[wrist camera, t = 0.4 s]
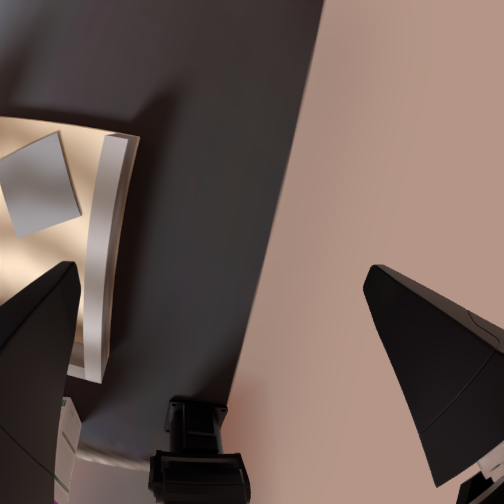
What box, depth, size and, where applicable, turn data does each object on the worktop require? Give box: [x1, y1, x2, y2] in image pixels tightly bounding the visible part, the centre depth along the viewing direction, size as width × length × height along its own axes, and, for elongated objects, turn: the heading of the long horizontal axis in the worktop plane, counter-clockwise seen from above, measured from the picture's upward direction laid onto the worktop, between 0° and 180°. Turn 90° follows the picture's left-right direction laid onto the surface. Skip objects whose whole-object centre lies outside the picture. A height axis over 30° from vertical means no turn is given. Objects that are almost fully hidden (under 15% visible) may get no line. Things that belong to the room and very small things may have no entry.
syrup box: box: [54, 397, 82, 504], centre depth 22 cm, size 6×6×14 cm
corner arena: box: [0, 116, 140, 383], centre depth 19 cm, size 20×13×4 cm, turn 163°
